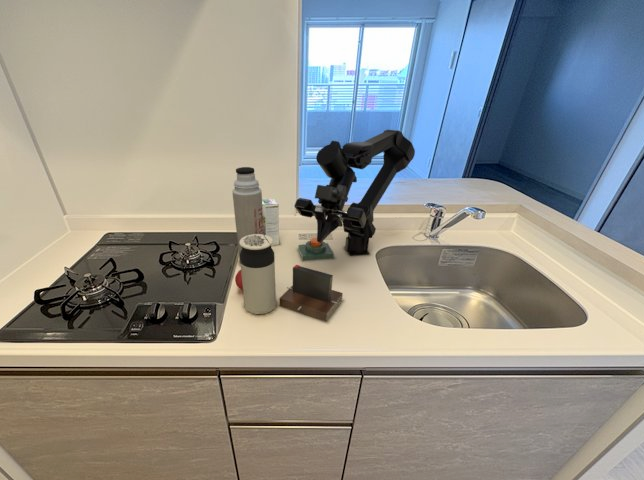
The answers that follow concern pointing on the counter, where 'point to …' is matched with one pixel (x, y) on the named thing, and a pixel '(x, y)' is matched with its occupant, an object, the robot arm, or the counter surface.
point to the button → (315, 243)
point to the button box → (315, 251)
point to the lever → (312, 283)
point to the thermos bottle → (247, 204)
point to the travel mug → (258, 273)
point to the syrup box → (271, 219)
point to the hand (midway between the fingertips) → (318, 242)
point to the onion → (239, 280)
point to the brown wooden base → (310, 304)
